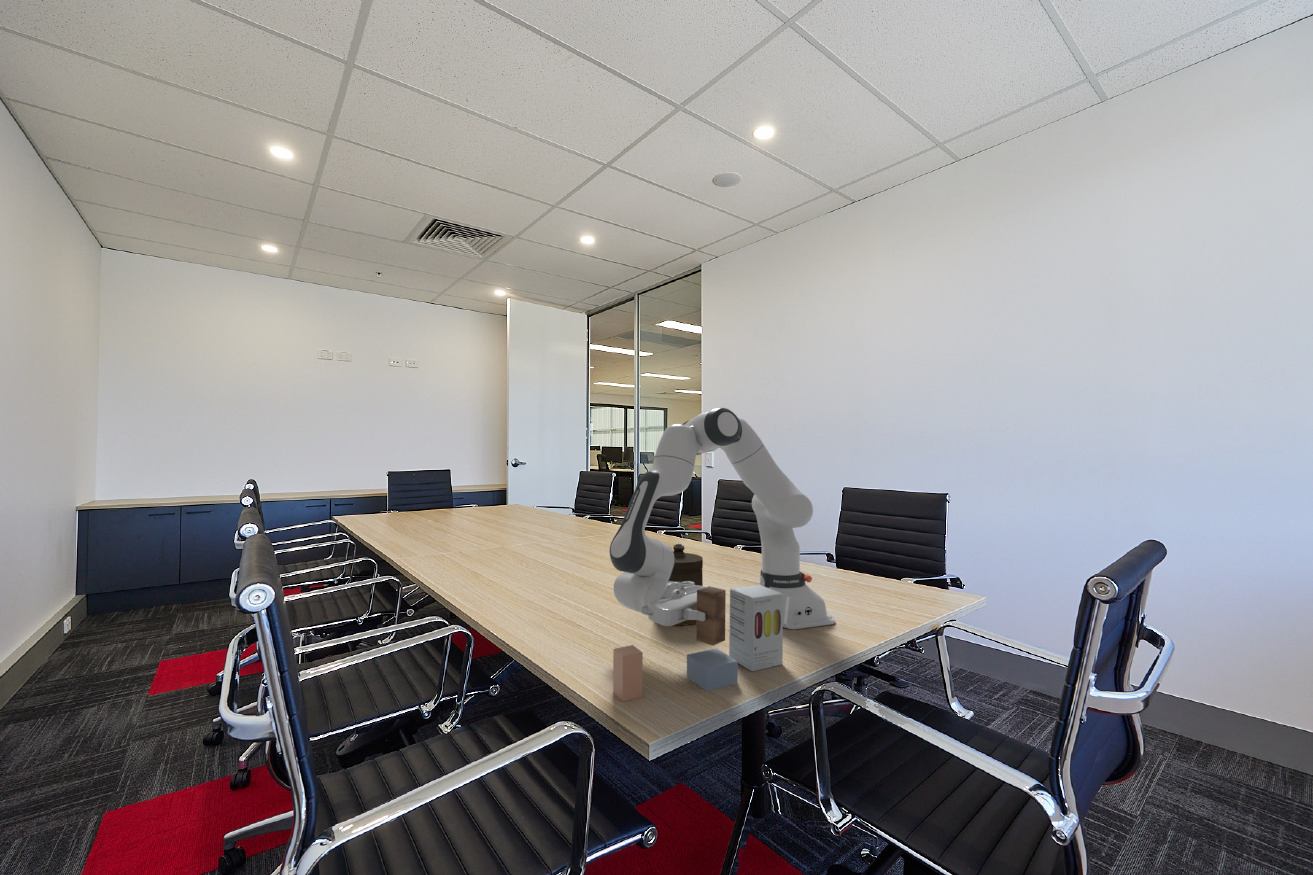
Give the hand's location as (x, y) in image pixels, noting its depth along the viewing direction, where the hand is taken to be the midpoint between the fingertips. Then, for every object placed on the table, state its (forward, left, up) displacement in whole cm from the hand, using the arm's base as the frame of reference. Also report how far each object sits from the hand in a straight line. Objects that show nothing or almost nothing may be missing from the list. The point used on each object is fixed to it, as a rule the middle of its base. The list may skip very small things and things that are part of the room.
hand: (714, 613), depth 113 cm
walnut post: (+1, -1, -6) cm, 6 cm away
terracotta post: (+19, +3, -15) cm, 24 cm away
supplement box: (-13, -9, -15) cm, 21 cm away
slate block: (0, -1, -15) cm, 15 cm away
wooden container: (-1, -43, -15) cm, 45 cm away
